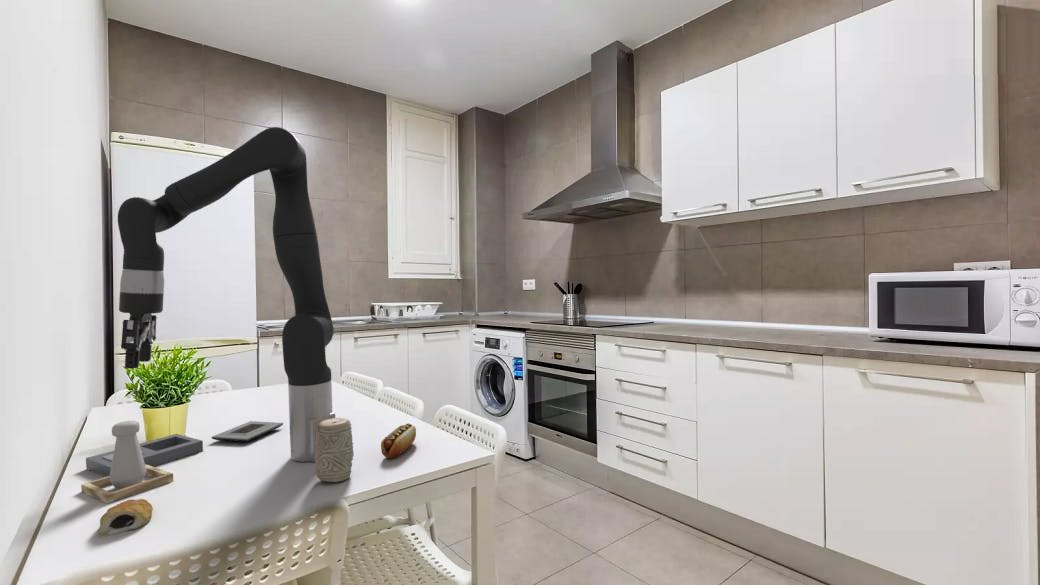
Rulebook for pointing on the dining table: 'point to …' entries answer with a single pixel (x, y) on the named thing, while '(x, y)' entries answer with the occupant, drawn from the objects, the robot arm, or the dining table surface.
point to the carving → (334, 450)
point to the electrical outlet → (247, 431)
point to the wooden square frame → (107, 497)
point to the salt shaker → (126, 456)
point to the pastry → (125, 517)
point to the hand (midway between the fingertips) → (138, 364)
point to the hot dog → (398, 441)
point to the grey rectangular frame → (151, 453)
